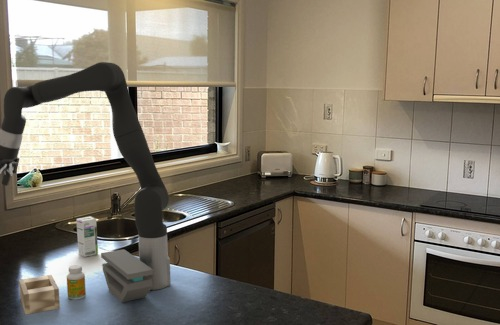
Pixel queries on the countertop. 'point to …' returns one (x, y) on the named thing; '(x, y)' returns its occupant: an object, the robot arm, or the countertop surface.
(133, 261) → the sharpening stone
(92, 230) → the syrup box
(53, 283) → the post socket
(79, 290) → the supplement bottle
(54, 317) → the countertop surface
